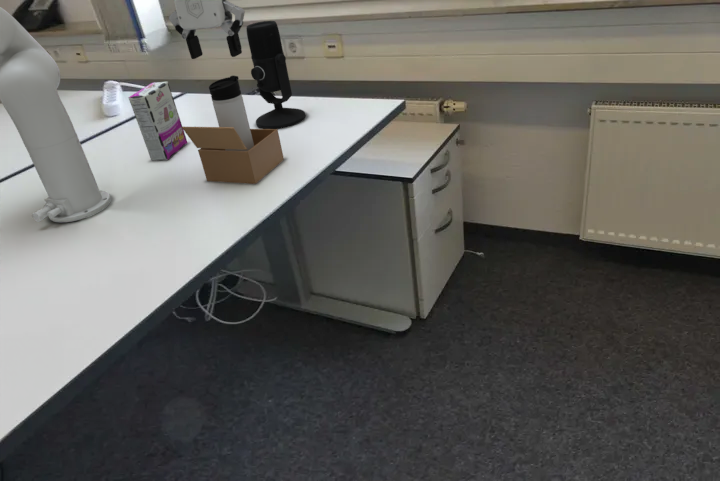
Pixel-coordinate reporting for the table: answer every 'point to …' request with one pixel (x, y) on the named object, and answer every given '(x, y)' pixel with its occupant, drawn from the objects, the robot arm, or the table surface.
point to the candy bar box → (158, 120)
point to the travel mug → (231, 109)
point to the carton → (244, 159)
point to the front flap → (215, 137)
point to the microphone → (271, 75)
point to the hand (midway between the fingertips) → (216, 56)
